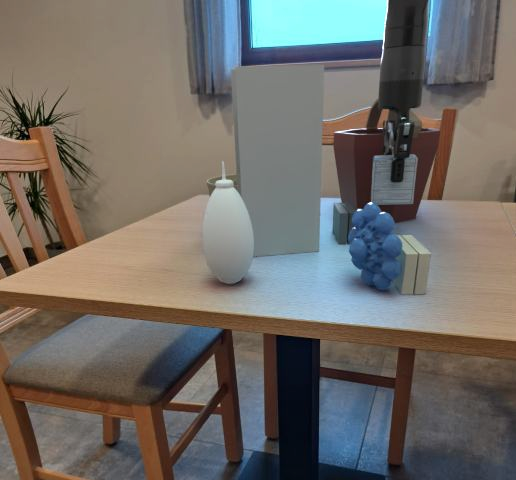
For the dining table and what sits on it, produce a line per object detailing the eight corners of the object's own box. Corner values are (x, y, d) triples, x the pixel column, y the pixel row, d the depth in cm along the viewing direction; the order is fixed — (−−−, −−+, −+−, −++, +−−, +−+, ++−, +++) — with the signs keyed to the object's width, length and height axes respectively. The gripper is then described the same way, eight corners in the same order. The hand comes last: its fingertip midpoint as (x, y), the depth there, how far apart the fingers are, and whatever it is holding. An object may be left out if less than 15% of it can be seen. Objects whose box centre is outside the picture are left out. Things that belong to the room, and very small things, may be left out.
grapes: (326, 278, 73) (328, 201, 67) (361, 272, 75) (367, 196, 70) (369, 304, 64) (377, 215, 58) (409, 295, 66) (419, 209, 60)
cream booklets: (407, 271, 75) (411, 234, 72) (425, 294, 66) (431, 253, 63) (386, 272, 75) (389, 235, 72) (401, 294, 66) (406, 254, 63)
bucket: (434, 228, 99) (453, 95, 87) (329, 227, 102) (334, 100, 90) (417, 205, 120) (431, 96, 108) (331, 205, 123) (335, 99, 112)
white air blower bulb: (211, 274, 77) (201, 158, 69) (257, 274, 76) (253, 157, 68) (201, 291, 70) (189, 164, 62) (252, 291, 69) (246, 163, 61)
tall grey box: (311, 243, 91) (315, 67, 77) (319, 251, 86) (324, 64, 72) (240, 249, 89) (230, 69, 75) (244, 257, 85) (235, 67, 71)
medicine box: (410, 200, 92) (415, 153, 88) (413, 205, 88) (418, 156, 84) (370, 201, 94) (373, 155, 90) (371, 205, 90) (374, 157, 86)
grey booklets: (348, 231, 99) (349, 202, 96) (355, 243, 90) (357, 212, 87) (332, 231, 99) (333, 202, 96) (338, 244, 90) (339, 213, 87)
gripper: (436, 75, 75) (423, 185, 83) (411, 79, 87) (403, 174, 95) (389, 77, 75) (381, 186, 83) (372, 81, 88) (366, 175, 96)
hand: (393, 179), depth 89 cm, fingers closed on medicine box, 5 cm apart
